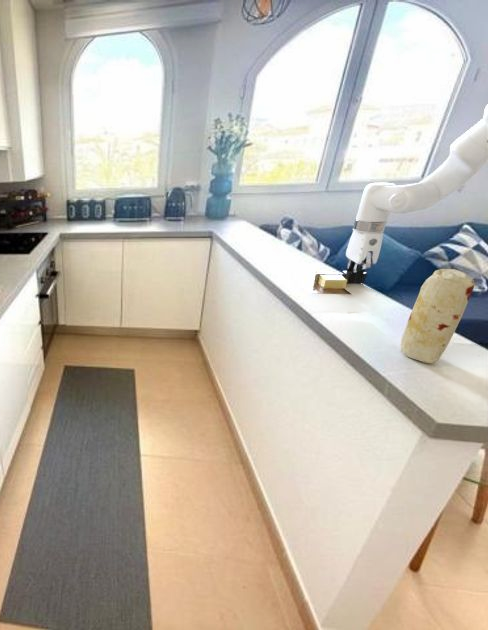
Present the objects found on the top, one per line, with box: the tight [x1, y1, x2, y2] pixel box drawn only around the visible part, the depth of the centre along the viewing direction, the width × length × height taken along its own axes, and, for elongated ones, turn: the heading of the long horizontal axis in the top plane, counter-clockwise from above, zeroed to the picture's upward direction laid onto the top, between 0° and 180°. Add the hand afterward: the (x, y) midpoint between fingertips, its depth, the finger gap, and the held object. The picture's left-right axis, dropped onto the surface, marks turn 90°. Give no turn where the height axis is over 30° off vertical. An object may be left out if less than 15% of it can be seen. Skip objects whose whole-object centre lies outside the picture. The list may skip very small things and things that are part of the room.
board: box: [291, 275, 352, 295], centre depth 115 cm, size 14×16×2 cm
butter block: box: [318, 275, 348, 289], centre depth 112 cm, size 6×5×3 cm
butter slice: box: [315, 271, 340, 274], centre depth 117 cm, size 6×2×3 cm, turn 76°
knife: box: [314, 270, 368, 284], centre depth 114 cm, size 14×2×4 cm, turn 76°
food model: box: [399, 268, 476, 364], centre depth 74 cm, size 10×7×20 cm
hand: (352, 281), depth 114 cm, fingers closed on knife, 2 cm apart
